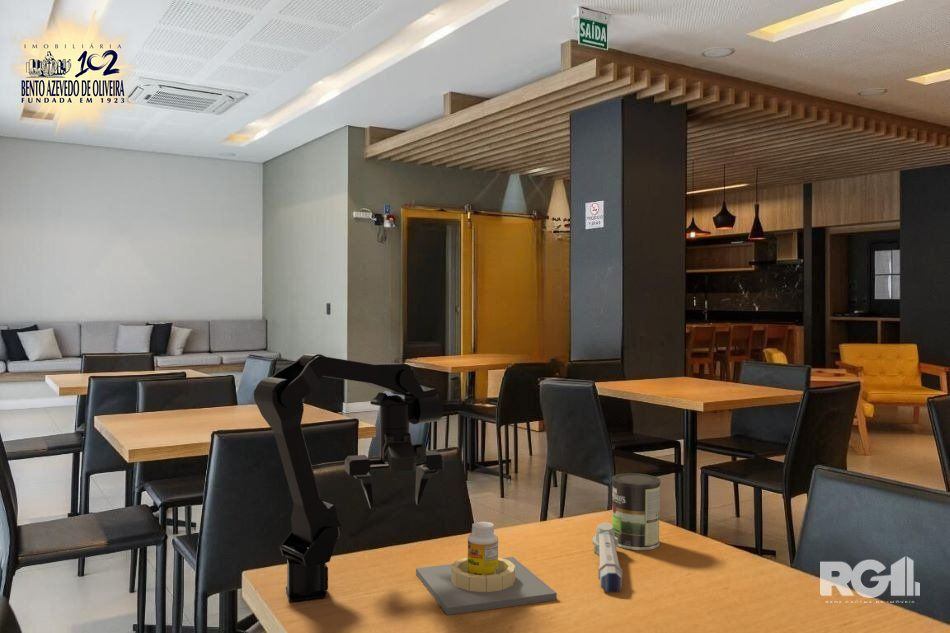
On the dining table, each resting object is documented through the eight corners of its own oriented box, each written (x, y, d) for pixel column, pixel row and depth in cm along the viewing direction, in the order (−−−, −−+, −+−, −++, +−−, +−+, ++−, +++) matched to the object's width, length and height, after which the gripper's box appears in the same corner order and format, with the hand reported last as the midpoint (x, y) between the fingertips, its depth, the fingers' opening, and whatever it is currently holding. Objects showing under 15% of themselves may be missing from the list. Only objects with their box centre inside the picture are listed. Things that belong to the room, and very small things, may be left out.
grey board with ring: (447, 615, 125) (447, 592, 125) (415, 574, 144) (415, 555, 144) (556, 599, 131) (556, 578, 131) (512, 562, 150) (513, 544, 150)
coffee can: (622, 552, 157) (622, 484, 157) (604, 537, 167) (605, 474, 167) (668, 549, 159) (668, 482, 159) (648, 534, 169) (648, 472, 169)
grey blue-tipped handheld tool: (596, 571, 135) (592, 514, 160) (596, 606, 136) (591, 544, 161) (626, 573, 134) (617, 515, 159) (625, 607, 135) (616, 545, 160)
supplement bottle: (462, 577, 139) (462, 522, 138) (488, 572, 141) (488, 518, 141) (476, 587, 134) (476, 530, 134) (503, 582, 136) (503, 526, 136)
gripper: (354, 436, 136) (354, 522, 136) (452, 430, 142) (452, 513, 143) (344, 427, 147) (344, 506, 147) (436, 422, 153) (436, 498, 153)
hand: (394, 506), depth 147 cm, fingers open, 9 cm apart
